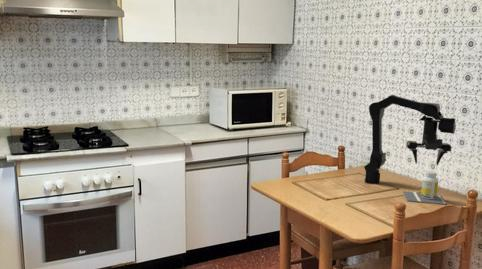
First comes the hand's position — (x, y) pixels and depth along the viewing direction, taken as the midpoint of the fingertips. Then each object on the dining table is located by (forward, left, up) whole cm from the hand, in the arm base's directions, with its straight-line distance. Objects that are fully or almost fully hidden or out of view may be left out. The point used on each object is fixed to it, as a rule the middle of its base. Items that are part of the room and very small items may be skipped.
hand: (426, 164), depth 216 cm
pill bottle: (0, -12, -13) cm, 17 cm away
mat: (-2, -12, -13) cm, 18 cm away
